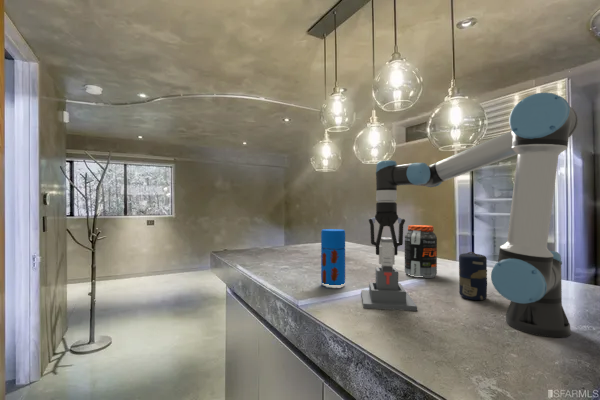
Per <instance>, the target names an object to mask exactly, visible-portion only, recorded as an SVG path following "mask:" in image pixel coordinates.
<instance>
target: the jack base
mask: <svg viewBox="0 0 600 400" xmlns="http://www.w3.org/2000/svg"><path fill="white" fill-rule="evenodd" d="M368 288H369V289H361V290H360V294H361V301H362V305H363V309H378V310H392V311H393V310H394V311H395V310H396V311H411V312H412V311H417V312H418V306H417V304H416V303H415V301H414V299H412V297H411V295H410V294H409V293H408V292H407V290H406V289H405V288H404V286H403V285H402V283H399V271H398V269H397V268H396V267H393V271H392V267H383V271H381V266H379V267H378V266H376V267H375V281H374V282H372V281H369V283H368Z"/></svg>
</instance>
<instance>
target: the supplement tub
mask: <svg viewBox="0 0 600 400" xmlns="http://www.w3.org/2000/svg"><path fill="white" fill-rule="evenodd" d="M437 238H438V237H437V234H436V233H435V232H434V225H425V224H423V225H420V224H419V225H418V224H416V225H415V224H413V225H412V224H409V225H408V226H407V231H406V233H405V234H404V273H405V274H406V273H407V274H410V275H414V276H423V277H425V278H424V279H429V278H430V279H433V278H435V277H437V275H438V265H437V264H438V239H437ZM407 274H406V275H407Z"/></svg>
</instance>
